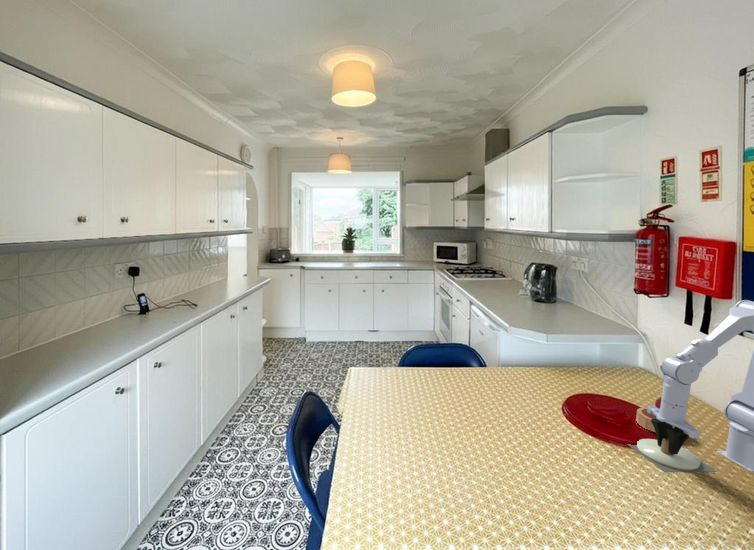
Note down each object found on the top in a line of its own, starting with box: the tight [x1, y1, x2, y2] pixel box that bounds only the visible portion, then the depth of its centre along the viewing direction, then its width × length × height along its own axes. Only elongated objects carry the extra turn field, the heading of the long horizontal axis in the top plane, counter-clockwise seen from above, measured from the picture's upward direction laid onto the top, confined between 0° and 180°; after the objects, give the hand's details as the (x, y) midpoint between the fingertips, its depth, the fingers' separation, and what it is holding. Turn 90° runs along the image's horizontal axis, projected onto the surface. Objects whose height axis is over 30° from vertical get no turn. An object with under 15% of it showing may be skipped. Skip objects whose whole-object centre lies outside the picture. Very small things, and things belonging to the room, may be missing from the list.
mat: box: [626, 444, 718, 473], centre depth 106 cm, size 15×15×1 cm
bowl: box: [635, 406, 674, 432], centre depth 122 cm, size 12×12×4 cm
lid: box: [636, 437, 700, 470], centre depth 106 cm, size 14×14×4 cm
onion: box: [654, 396, 662, 409], centre depth 132 cm, size 6×6×8 cm
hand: (667, 449), depth 106 cm, fingers closed on lid, 3 cm apart
